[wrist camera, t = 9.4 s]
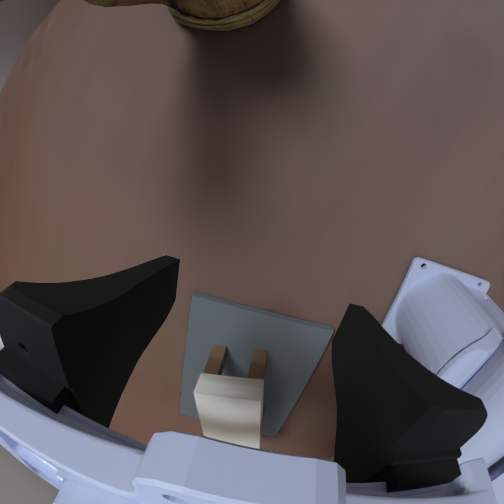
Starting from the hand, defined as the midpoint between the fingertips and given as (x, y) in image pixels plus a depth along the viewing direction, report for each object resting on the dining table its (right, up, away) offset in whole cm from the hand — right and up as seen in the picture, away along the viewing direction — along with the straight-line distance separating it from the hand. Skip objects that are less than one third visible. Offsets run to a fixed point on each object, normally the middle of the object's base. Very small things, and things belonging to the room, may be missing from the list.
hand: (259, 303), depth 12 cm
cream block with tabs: (-1, -11, +15) cm, 18 cm away
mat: (-1, -11, +15) cm, 19 cm away
